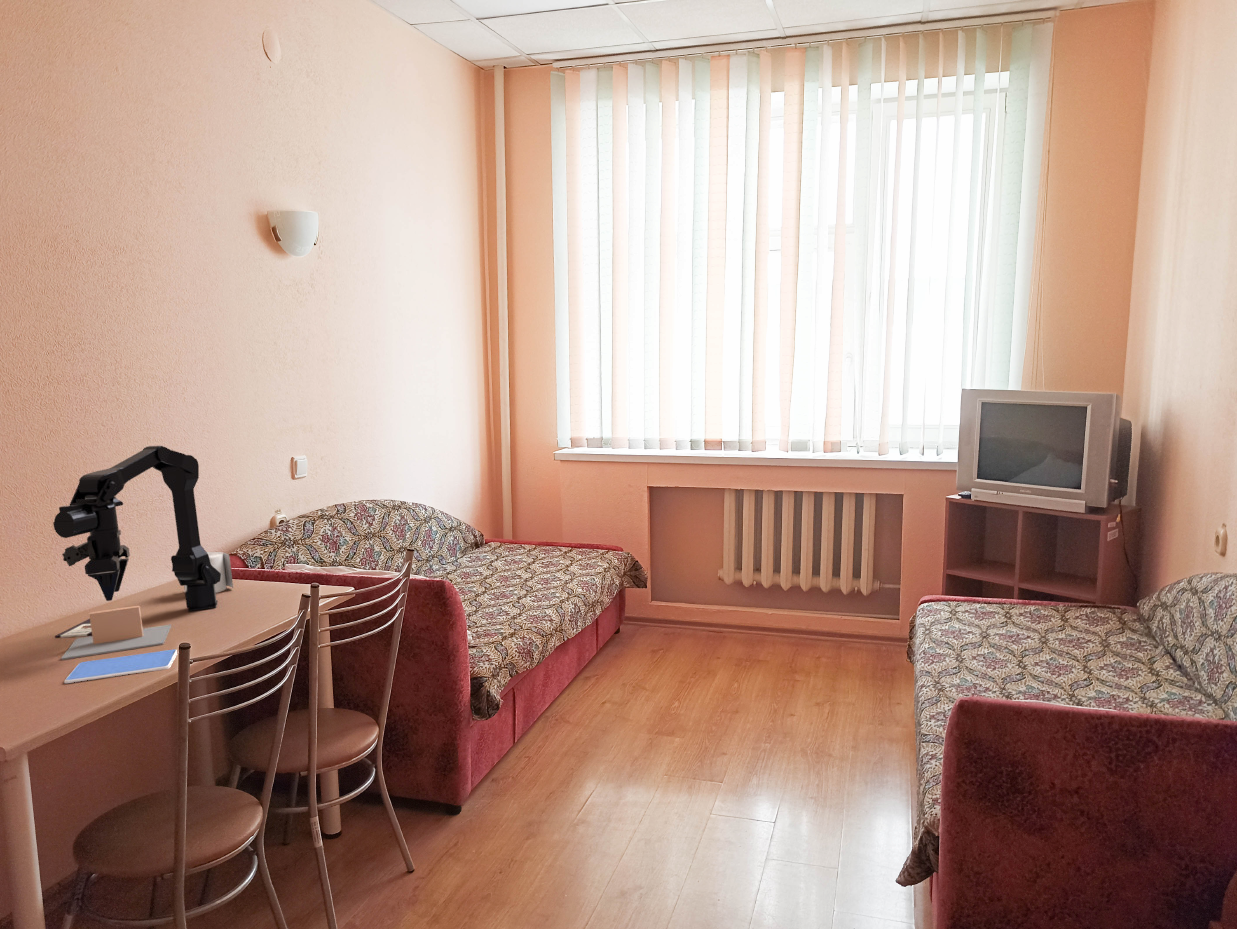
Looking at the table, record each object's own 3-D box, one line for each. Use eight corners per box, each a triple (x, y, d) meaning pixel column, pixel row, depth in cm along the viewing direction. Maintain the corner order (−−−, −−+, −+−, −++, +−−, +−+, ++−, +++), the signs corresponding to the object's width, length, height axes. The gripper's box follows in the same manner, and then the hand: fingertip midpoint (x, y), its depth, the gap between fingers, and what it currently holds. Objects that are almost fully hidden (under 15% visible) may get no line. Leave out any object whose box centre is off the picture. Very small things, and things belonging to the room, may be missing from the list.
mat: (171, 625, 218) (171, 624, 218) (163, 644, 203) (163, 642, 203) (76, 640, 212) (76, 638, 212) (61, 660, 197) (61, 658, 197)
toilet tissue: (184, 591, 254) (179, 556, 253) (230, 583, 260) (226, 549, 258) (186, 598, 245) (181, 562, 243) (233, 591, 250) (229, 555, 249)
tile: (143, 634, 211) (139, 605, 210) (142, 636, 209) (138, 607, 209) (94, 642, 207) (90, 612, 207) (93, 643, 206) (89, 614, 205)
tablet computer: (179, 653, 198) (178, 647, 198) (170, 671, 186) (169, 665, 186) (79, 667, 192) (78, 661, 192) (63, 687, 180) (62, 681, 180)
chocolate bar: (133, 611, 232) (92, 633, 215) (133, 615, 233) (93, 637, 215) (98, 614, 232) (54, 635, 215) (98, 617, 233) (55, 639, 215)
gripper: (72, 526, 211) (81, 592, 213) (53, 540, 194) (63, 611, 196) (125, 521, 215) (134, 585, 217) (112, 533, 197) (121, 603, 199)
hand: (112, 596), depth 207 cm, fingers open, 9 cm apart
